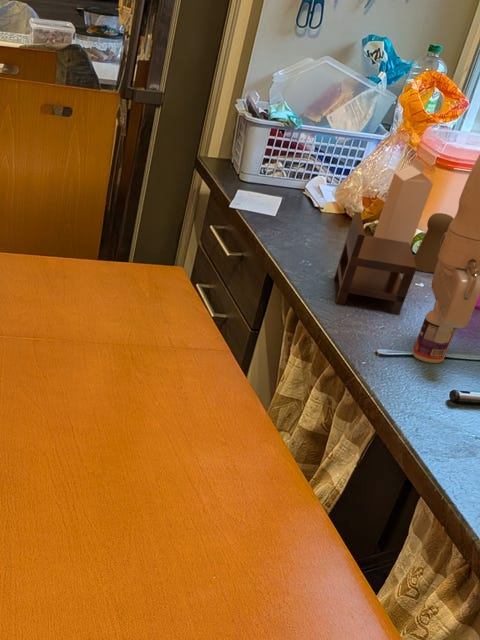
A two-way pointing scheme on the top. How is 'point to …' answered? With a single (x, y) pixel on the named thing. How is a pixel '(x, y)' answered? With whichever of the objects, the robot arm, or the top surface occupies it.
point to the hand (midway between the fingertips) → (436, 334)
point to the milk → (404, 204)
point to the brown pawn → (432, 242)
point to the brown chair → (374, 267)
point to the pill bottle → (431, 339)
